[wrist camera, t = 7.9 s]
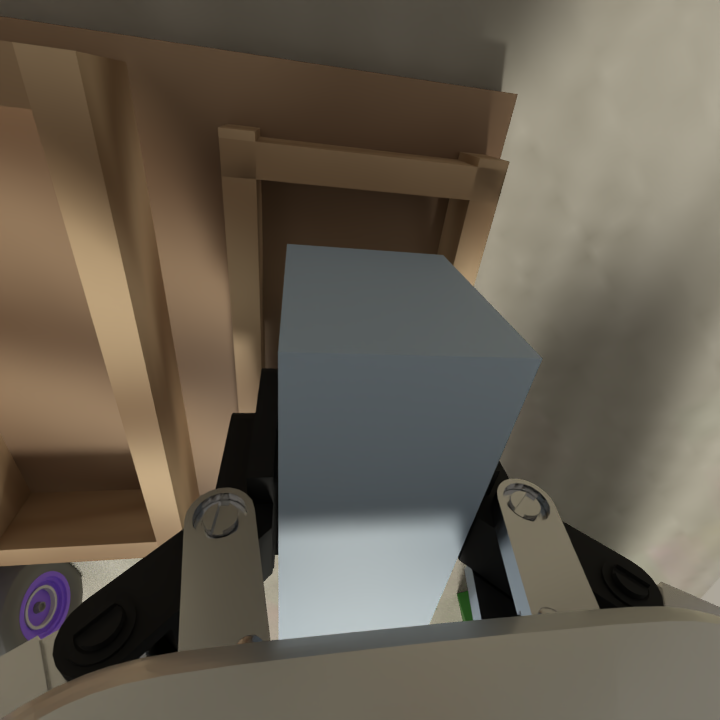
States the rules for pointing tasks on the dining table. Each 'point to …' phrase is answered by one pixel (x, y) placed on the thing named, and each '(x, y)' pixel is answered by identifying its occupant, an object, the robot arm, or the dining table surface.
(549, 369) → the dining table surface
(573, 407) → the dining table surface
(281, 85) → the jig
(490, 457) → the light blue block
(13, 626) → the toy race car
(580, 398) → the dining table surface
